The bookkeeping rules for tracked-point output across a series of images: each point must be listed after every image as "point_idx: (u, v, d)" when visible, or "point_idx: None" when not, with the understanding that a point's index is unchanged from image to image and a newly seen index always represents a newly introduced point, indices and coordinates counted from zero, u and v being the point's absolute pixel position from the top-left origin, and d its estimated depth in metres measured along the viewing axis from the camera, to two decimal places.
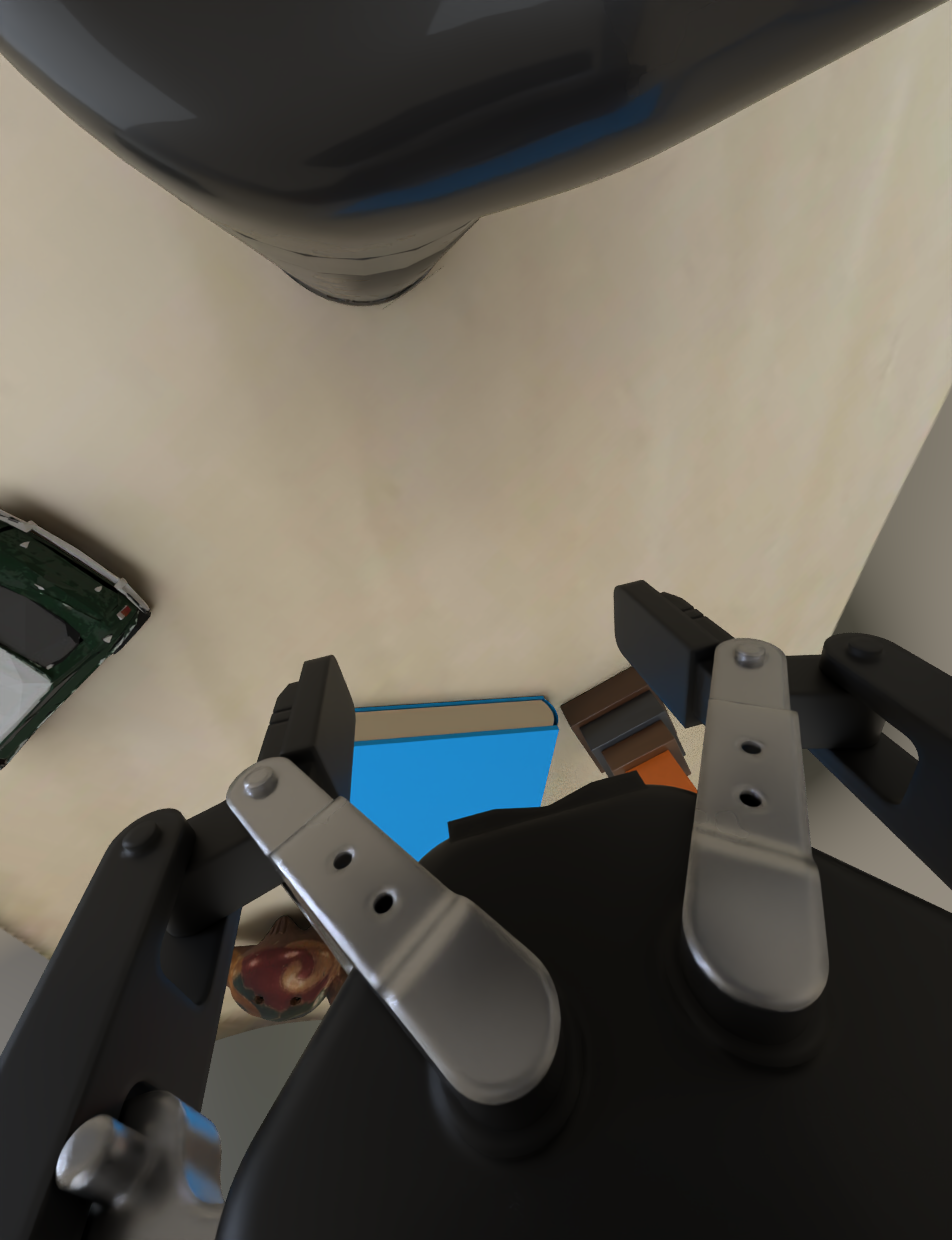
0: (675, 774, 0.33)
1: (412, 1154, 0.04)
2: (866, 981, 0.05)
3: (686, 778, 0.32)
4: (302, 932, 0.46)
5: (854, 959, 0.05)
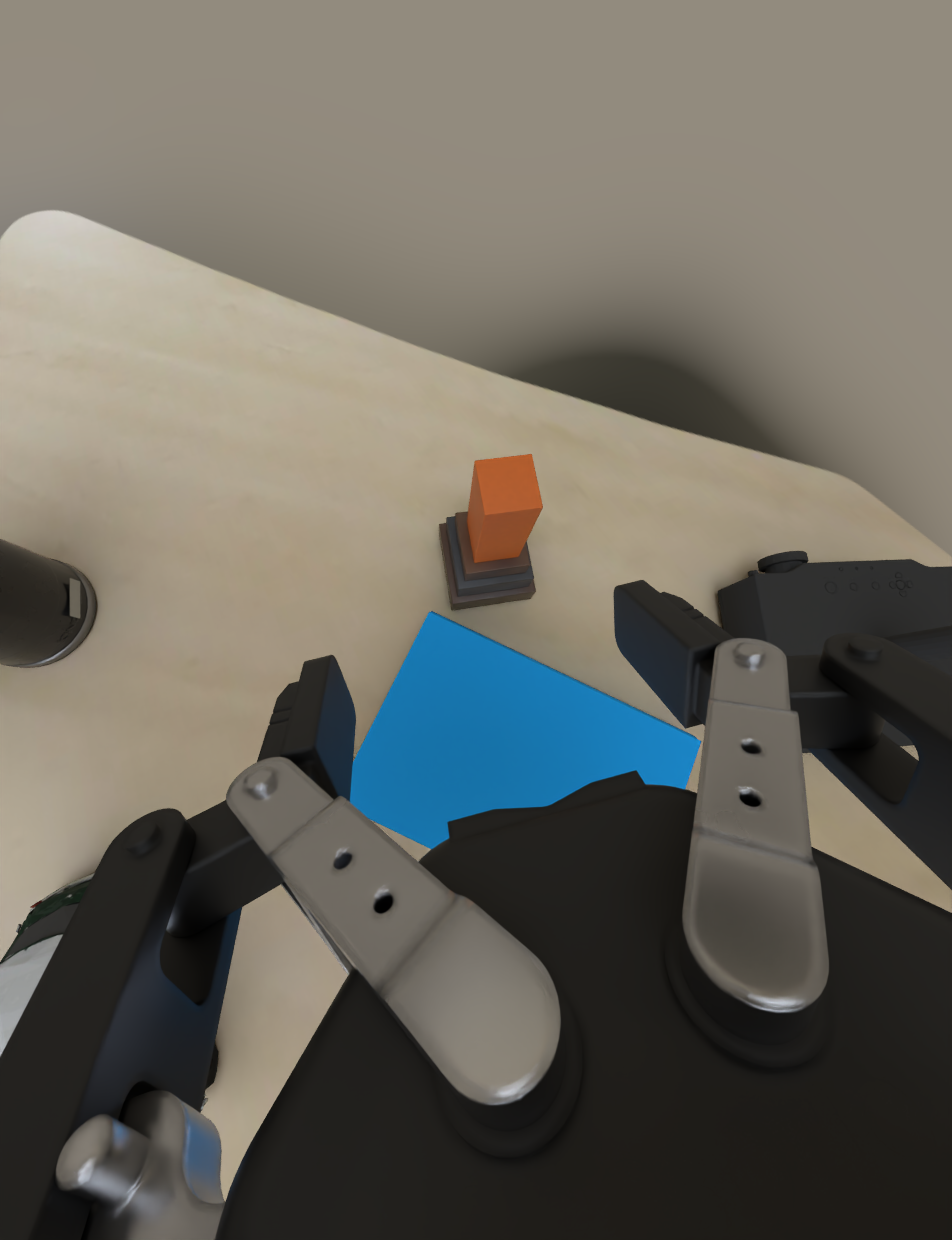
0: (469, 517, 0.35)
1: (411, 1155, 0.04)
2: (866, 981, 0.05)
3: (468, 508, 0.34)
4: None
5: (854, 959, 0.05)
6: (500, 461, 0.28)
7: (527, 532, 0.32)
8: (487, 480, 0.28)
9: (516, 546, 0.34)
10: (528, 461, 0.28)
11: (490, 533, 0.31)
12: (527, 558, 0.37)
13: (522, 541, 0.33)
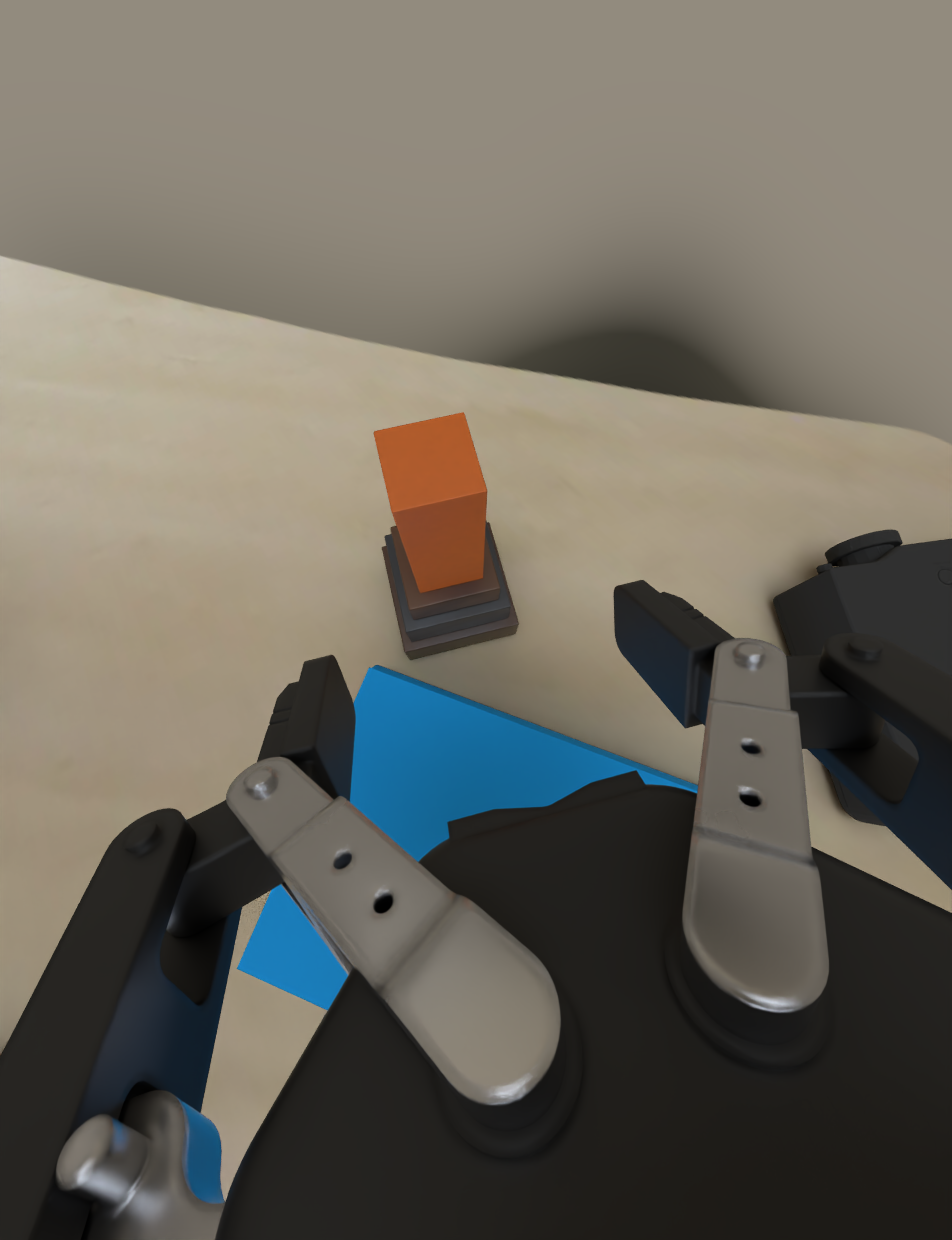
0: None
1: (411, 1154, 0.04)
2: (866, 980, 0.05)
3: None
4: None
5: (854, 959, 0.05)
6: (414, 428, 0.18)
7: (480, 539, 0.21)
8: (394, 458, 0.17)
9: (471, 562, 0.23)
10: (459, 423, 0.18)
11: (419, 545, 0.20)
12: (495, 579, 0.26)
13: (478, 554, 0.22)
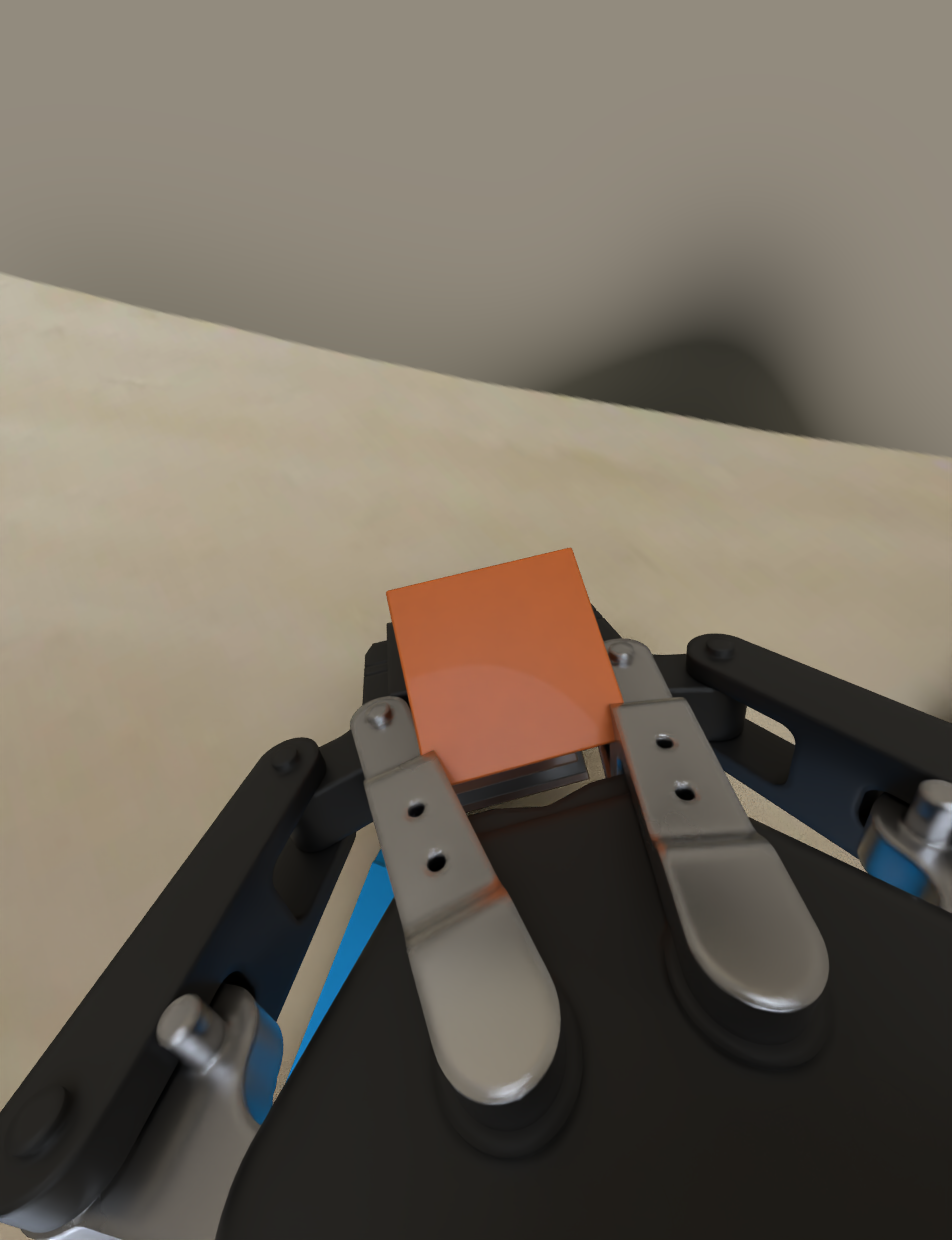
0: None
1: (412, 1154, 0.04)
2: (890, 1021, 0.04)
3: None
4: None
5: (854, 959, 0.05)
6: (471, 584, 0.09)
7: None
8: (431, 656, 0.08)
9: None
10: (564, 573, 0.09)
11: None
12: None
13: None
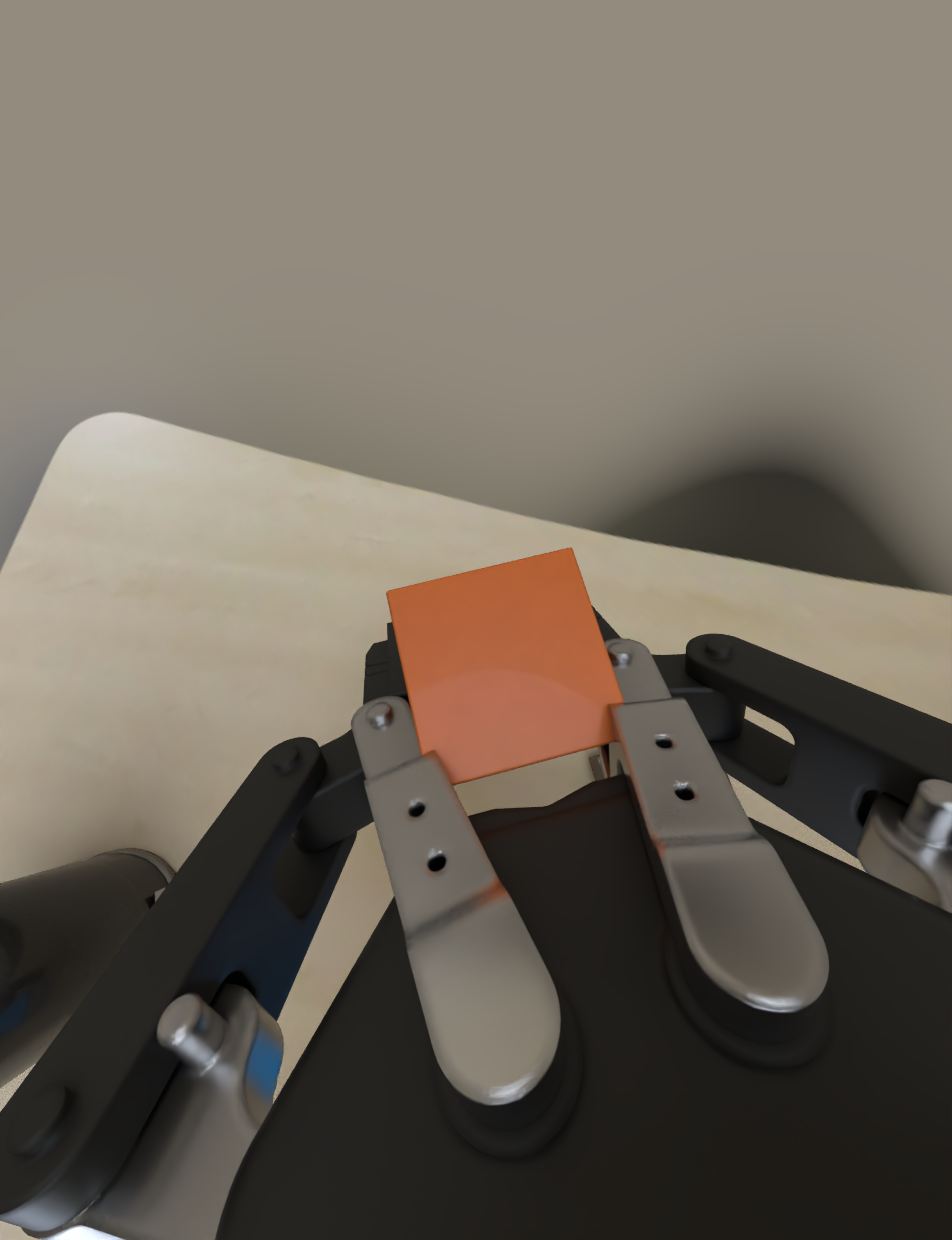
0: None
1: (411, 1155, 0.04)
2: (889, 1021, 0.04)
3: None
4: None
5: (854, 959, 0.05)
6: (471, 584, 0.09)
7: None
8: (431, 656, 0.08)
9: None
10: (564, 573, 0.09)
11: None
12: None
13: None
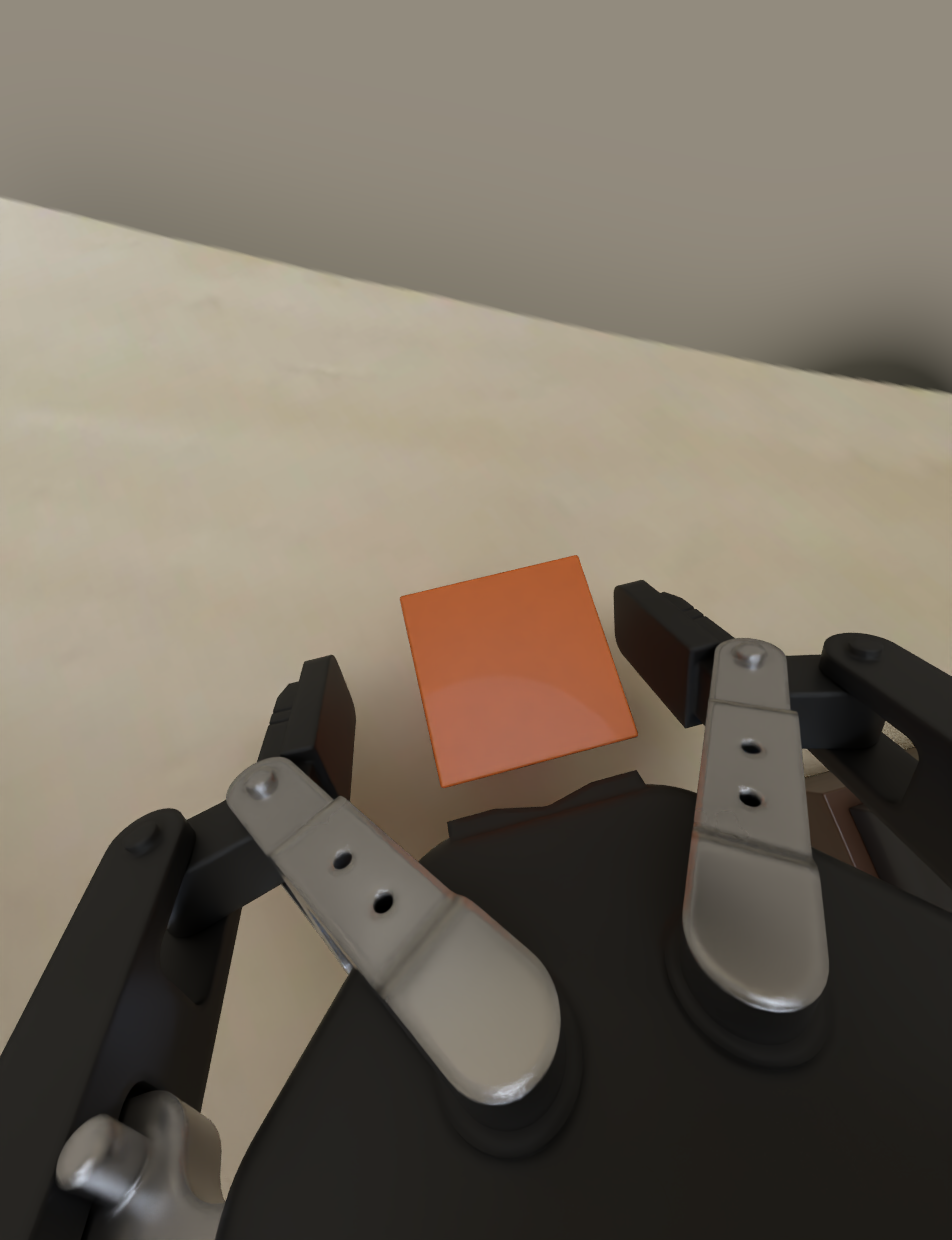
0: None
1: (411, 1154, 0.04)
2: (865, 980, 0.05)
3: None
4: None
5: (854, 959, 0.05)
6: (481, 590, 0.09)
7: None
8: (443, 659, 0.09)
9: None
10: (570, 580, 0.09)
11: None
12: None
13: None
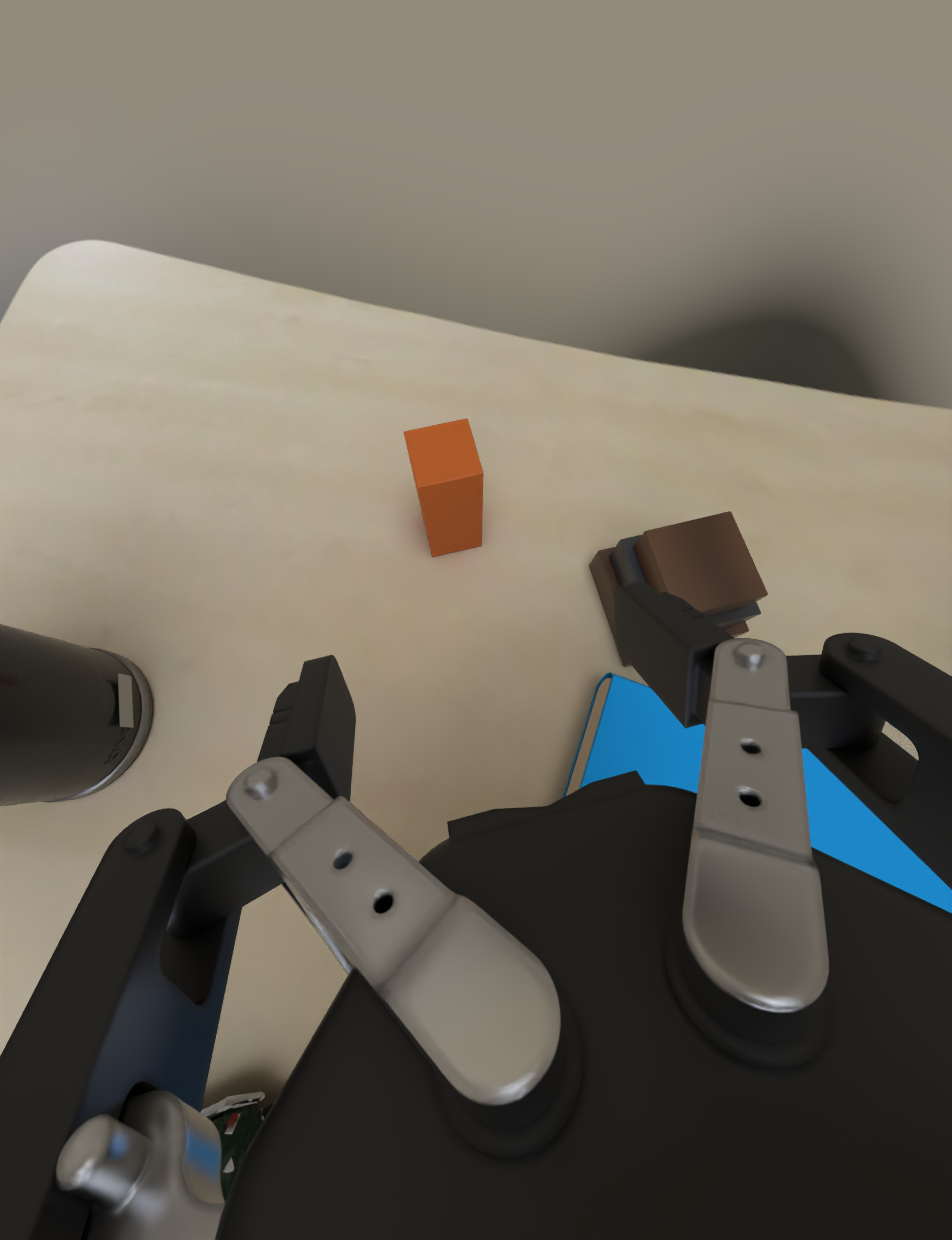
0: None
1: (411, 1155, 0.04)
2: (866, 981, 0.05)
3: None
4: None
5: (854, 959, 0.05)
6: (432, 429, 0.25)
7: (478, 511, 0.28)
8: (418, 450, 0.25)
9: (472, 531, 0.31)
10: (464, 426, 0.25)
11: (434, 514, 0.27)
12: (762, 585, 0.25)
13: (477, 523, 0.30)
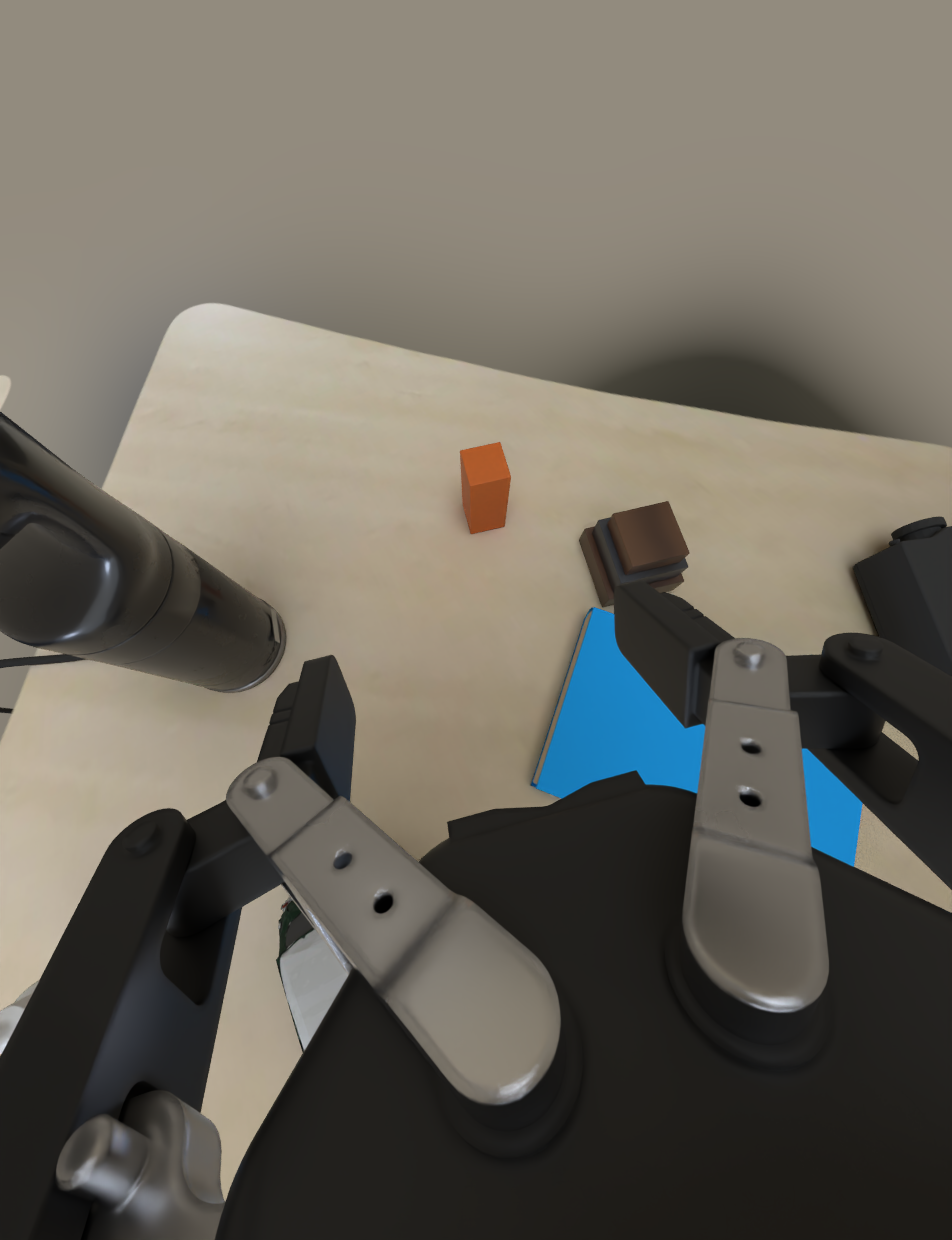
0: (463, 499, 0.47)
1: (411, 1153, 0.04)
2: (866, 981, 0.05)
3: (462, 491, 0.46)
4: None
5: (854, 959, 0.05)
6: (478, 449, 0.40)
7: (505, 501, 0.43)
8: (470, 462, 0.40)
9: (500, 515, 0.45)
10: (498, 447, 0.40)
11: (477, 503, 0.42)
12: (686, 547, 0.40)
13: (503, 510, 0.45)
